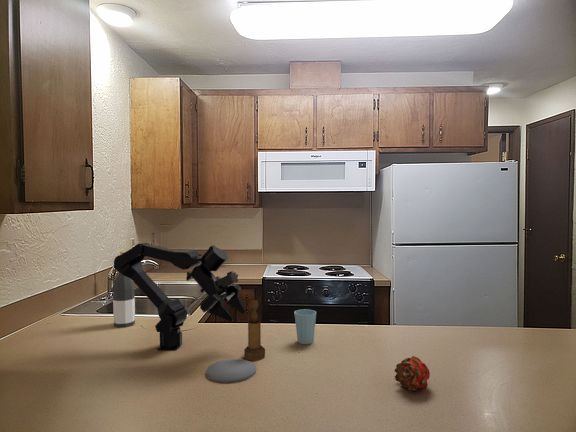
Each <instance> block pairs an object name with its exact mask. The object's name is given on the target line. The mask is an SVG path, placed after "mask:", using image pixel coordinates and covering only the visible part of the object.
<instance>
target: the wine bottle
mask: <svg viewBox="0 0 576 432" xmlns="http://www.w3.org/2000/svg"><path fill="white" fill-rule="evenodd" d="M125 252H126V250H125V251H124V250H122V251H120V252H119V255H122V254H123V253H125ZM134 284H135V283H134V281H133V280H132V279H130V278H128V277H126V276H123V275H122V274H120V273H119V272H118V274H117V276H116V277H115V280H114V283H113V287H112V303H113V305H112V308H113V309H112V311H113V327H115V328H121V329H122V328H128V327H132V326H134V325H135V324H136V312H135V311H136V308H135V307H136V305H135V303H136V301H135V300H136V299H135V297H136V296H135V285H134Z"/></svg>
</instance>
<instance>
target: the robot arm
mask: <svg viewBox="0 0 576 432" xmlns="http://www.w3.org/2000/svg"><path fill="white" fill-rule="evenodd" d="M125 251H126V250H125ZM146 257H147V258H152V259H155V260H161V261H164V262H168V263H171V264H172V265H173V266H174V267H177V268H179V269H180V270H189V269H192V268H193V269H192V270H191V271H187V272H186V278H185V280H186V281H187V282H188V281H190V280H194V281H195V282H196V283H197V285H198V286H199V287H200V288H201V289H200V292H201V293H205V294H206V295H207V296H206V297H205V298H204V299H203V301H201V303H200V305H199V306H200V308H199V309H200V310H201V312H203V313H207V314H211V315H213V316H216V317H219V318H221V319H224V320H225V321H229V322H231V323H232V322H233V321H234V318H233V315H232V314H231V313H230V312H229V311H228V309H227V308H226V305H224V301H225V302H226V304H227V305H229V306H230V307H232V308H233V309H234V310H236V311H237V312H239V313H241V314H243V315H244V314H245V313H246V309H245V306H244V304H243V302H242V300H241V296H240V294H241V289H242V287H241V286H240V285H239V283H238V282H239V279H238V278H239V274H238V273H237V272H235V271H234V270H230V271H229V272H227V273H226V275H225V276H222V277H221V276H219V275H217V276H216V275H214V273H213V272H217V271H219V269H220V268H221V267H222V266H223V265H224V263H225V262H226V261H228V259H229V256H228V255H227V253H226V252H225V251H224V250H222V249H221V248H219V247H217V246H216V245H215V244H214V245H210V246H209V248H208V249H207V251H206V252H205V253H204V254H202V253H199V252H198V250H197V251H196V250H193V249H192V250H191V249H190V250H189V249H181V250H180V249H179V250H177V249H172V248H168V247H163V246H160V245H155V244H151V243H148V242H143V243H137V244H135V245H134V246H133V247H132V248H130V249H128V250H127V251H126V252H125V253H123V254H122V255H120V254H118V255H117V256H115V258H114V260H113V268H114V269H115V271H116V272H117V273H118V274H119V273H120V274H122V275H123V276H126V277H128V278H130V279H132V281H133V284H135V285H136V286H137V287H138V288H139V289H140V290H141V292H142V293H143V294H144V295H145V297H147V298H148V300H149V301H150V302H151V303H152V304H153V305H154V307H155V308H156V309H157V313H158V318H159V319H160V320H159V321H158V322H157V323H156V324H155V330H156V333H159V347H157V350H164V351H165V350H166V351H167V350H168V351H171V350H172V351H177V350H178V349H179V348H180V347H181V346H182V345H183V332H182V331H181V330H182V329H181V327H183V326H184V323H185V321H186V320H187V317H188V311H187V309H186V306H185V305H184V304H183V303H182V302H181V301H180V299H179V298H175V299H170V298H169V297H168V296H167V294H166V293H165V292H164V291H163V290H162V289H161V288H160V287H159V286H158V285H157V284H156V282H155V281H154V280H153V279H152V278H151V277H150V276H149V275H148V274H147V273H146V271H144V267H143V266H144V265H143V262H142V261H143V260H144V259H145V258H146Z"/></svg>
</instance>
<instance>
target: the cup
mask: <svg viewBox="0 0 576 432" xmlns="http://www.w3.org/2000/svg"><path fill="white" fill-rule="evenodd" d="M293 313H294V314H293V315H294V321H295V328H296V329H295V330H296V331H295V332H296V338H297V339H296V340H297V342H298V344H301V345H312V344H313V343H314V340H315V331H316V330H315V329H316V319H317V311H316V310H312V309H306V308H304V309H298V310H294V312H293Z"/></svg>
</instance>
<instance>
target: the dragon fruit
mask: <svg viewBox="0 0 576 432" xmlns="http://www.w3.org/2000/svg"><path fill="white" fill-rule="evenodd" d="M430 372H431V371H430V369H429V368H428V366H427V365H426V363H424V362H423V361H422V360H421V359H420V358H419V357H417V356H414V355H413V356H411V357H406V358H404V359H403V360H401V361H400V363H397V364H396V366H395V368H394V373H396V374H395V375H394V379H395V381H396V382H399V383H400V385H401V386H403V387H405V389H406V390H408V391H411V392H416V391H417V390H418V389H420V390H422V389H423V390H424V389H427V386H428V380H429V379H430V375H431V373H430Z"/></svg>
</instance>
